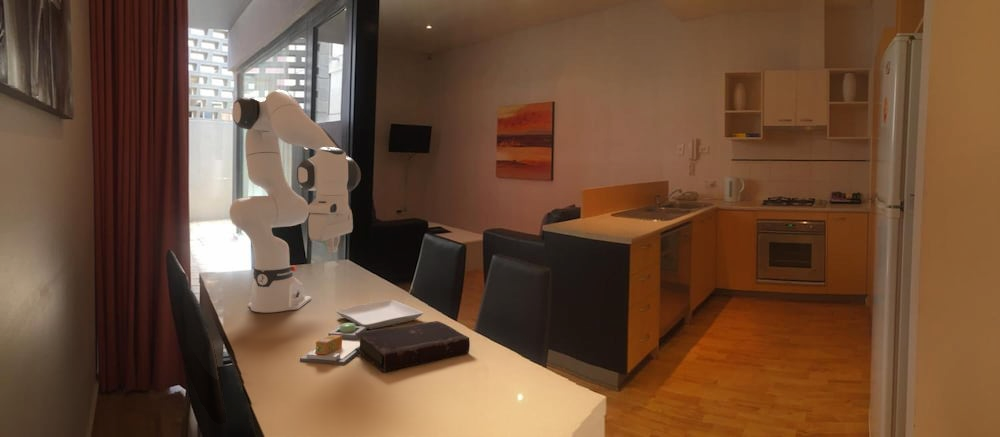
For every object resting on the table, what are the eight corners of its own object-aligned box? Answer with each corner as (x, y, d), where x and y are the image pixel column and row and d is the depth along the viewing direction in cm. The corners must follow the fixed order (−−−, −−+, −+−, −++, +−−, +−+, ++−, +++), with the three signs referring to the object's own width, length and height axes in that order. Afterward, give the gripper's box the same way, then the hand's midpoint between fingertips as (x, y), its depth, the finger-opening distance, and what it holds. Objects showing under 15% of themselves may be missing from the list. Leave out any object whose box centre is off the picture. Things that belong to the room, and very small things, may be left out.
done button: (344, 332, 162) (344, 322, 162) (358, 333, 161) (358, 323, 161) (337, 336, 158) (337, 326, 157) (351, 337, 157) (351, 327, 157)
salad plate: (364, 335, 162) (364, 323, 162) (334, 319, 178) (334, 308, 178) (424, 322, 176) (424, 311, 176) (391, 308, 192) (391, 298, 192)
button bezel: (341, 331, 164) (341, 325, 164) (366, 333, 163) (366, 326, 163) (328, 339, 156) (328, 333, 156) (354, 341, 155) (354, 335, 155)
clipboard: (330, 341, 155) (329, 334, 155) (369, 344, 153) (369, 337, 153) (299, 361, 139) (299, 353, 139) (343, 365, 137) (343, 357, 137)
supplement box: (343, 347, 148) (326, 355, 138) (330, 346, 148) (313, 354, 138) (343, 335, 148) (327, 342, 138) (331, 333, 148) (314, 341, 138)
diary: (470, 355, 146) (470, 337, 146) (384, 374, 131) (384, 354, 131) (434, 334, 161) (435, 318, 160) (353, 349, 146) (353, 331, 145)
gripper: (338, 201, 166) (338, 245, 168) (303, 207, 146) (304, 257, 148) (358, 202, 165) (358, 247, 167) (325, 208, 145) (326, 259, 147)
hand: (332, 252), depth 157 cm, fingers closed
